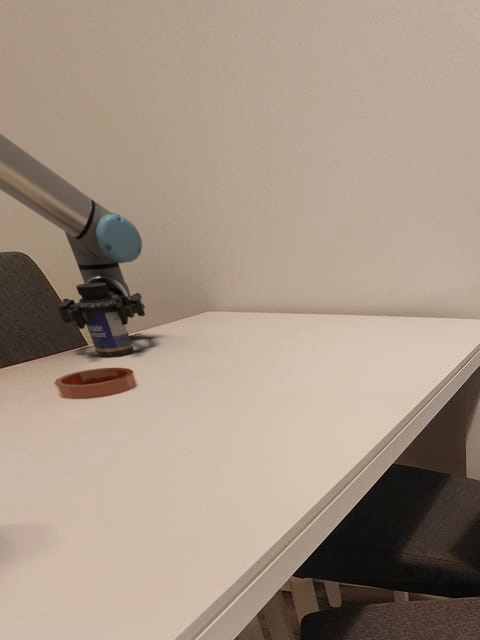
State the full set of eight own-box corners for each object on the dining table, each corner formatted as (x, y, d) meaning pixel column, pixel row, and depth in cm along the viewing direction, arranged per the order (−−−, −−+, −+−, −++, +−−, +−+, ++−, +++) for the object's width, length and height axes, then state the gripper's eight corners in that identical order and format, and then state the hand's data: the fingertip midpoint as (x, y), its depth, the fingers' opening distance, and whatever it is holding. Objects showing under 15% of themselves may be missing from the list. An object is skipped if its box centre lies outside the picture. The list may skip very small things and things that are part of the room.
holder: (51, 414, 80) (39, 387, 78) (89, 393, 88) (79, 368, 86) (122, 412, 80) (111, 385, 78) (154, 391, 88) (145, 366, 85)
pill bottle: (90, 356, 107) (62, 286, 100) (118, 348, 112) (92, 281, 105) (115, 358, 105) (88, 287, 98) (142, 350, 110) (118, 282, 103)
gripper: (164, 315, 123) (167, 335, 106) (61, 325, 117) (47, 348, 100) (151, 273, 118) (152, 287, 101) (42, 281, 112) (25, 298, 95)
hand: (100, 317), depth 101 cm, fingers closed on pill bottle, 6 cm apart
